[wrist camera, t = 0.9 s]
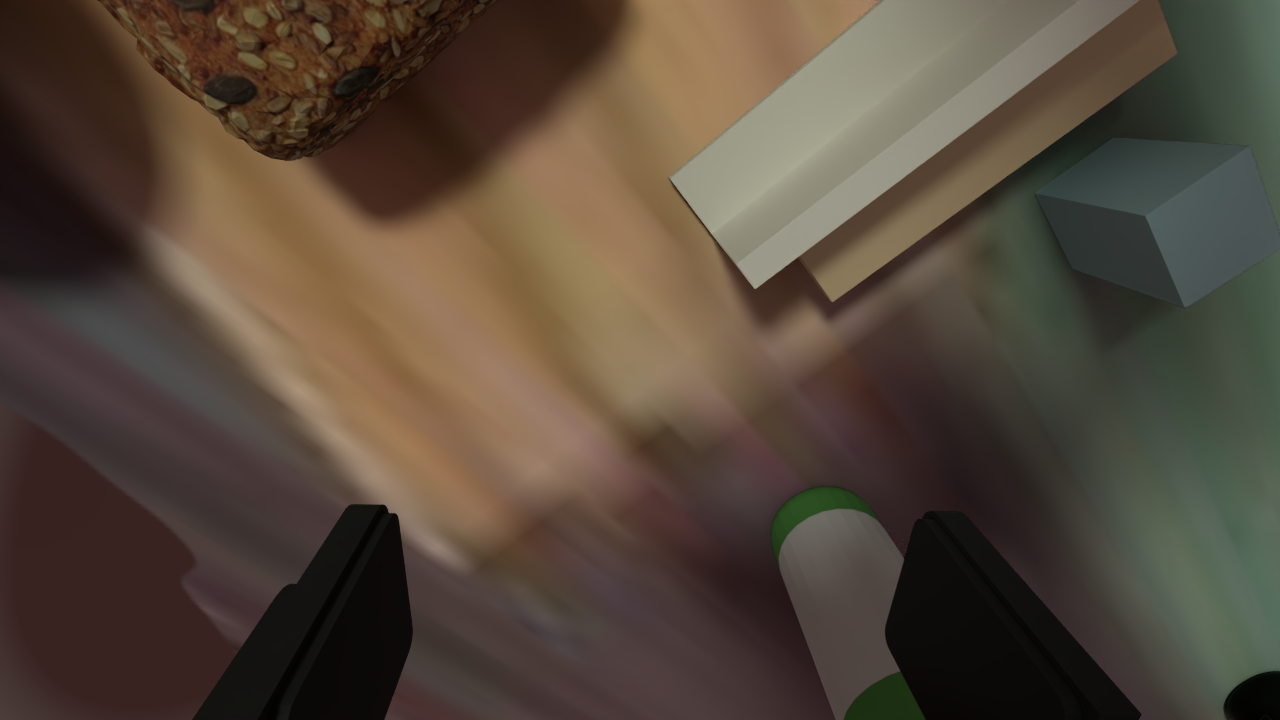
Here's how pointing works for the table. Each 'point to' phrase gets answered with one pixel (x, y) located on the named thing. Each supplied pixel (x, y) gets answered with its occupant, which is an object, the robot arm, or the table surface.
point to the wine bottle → (844, 599)
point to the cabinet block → (1162, 216)
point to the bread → (292, 59)
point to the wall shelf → (910, 126)
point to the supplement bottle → (1256, 699)
